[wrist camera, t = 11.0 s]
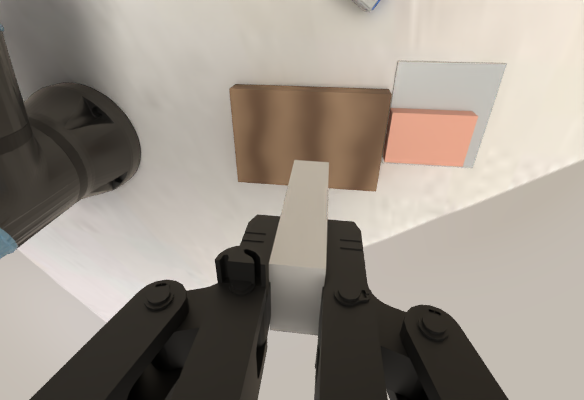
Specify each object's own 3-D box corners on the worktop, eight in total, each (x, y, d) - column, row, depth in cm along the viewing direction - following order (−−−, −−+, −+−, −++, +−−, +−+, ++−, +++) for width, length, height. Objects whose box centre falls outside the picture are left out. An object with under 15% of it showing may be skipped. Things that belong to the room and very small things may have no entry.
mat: (381, 161, 41) (381, 162, 41) (397, 60, 35) (398, 61, 35) (471, 167, 40) (472, 168, 40) (505, 63, 34) (506, 63, 33)
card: (382, 155, 40) (384, 162, 39) (390, 107, 37) (392, 112, 36) (457, 159, 39) (462, 166, 38) (471, 111, 36) (478, 116, 35)
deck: (243, 173, 45) (238, 181, 43) (235, 84, 39) (229, 88, 36) (374, 182, 43) (375, 191, 41) (388, 89, 37) (391, 94, 34)
